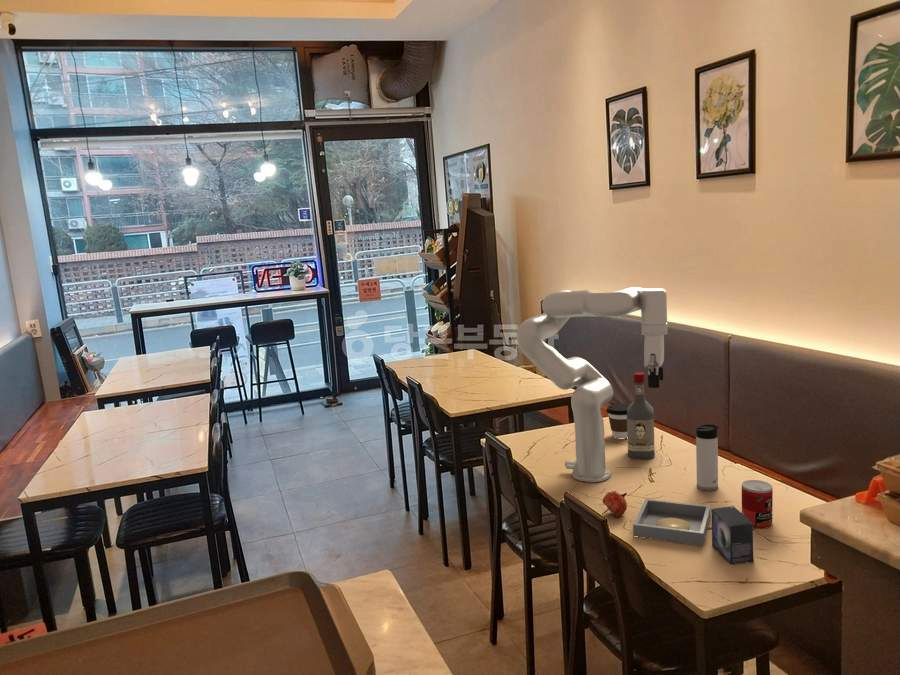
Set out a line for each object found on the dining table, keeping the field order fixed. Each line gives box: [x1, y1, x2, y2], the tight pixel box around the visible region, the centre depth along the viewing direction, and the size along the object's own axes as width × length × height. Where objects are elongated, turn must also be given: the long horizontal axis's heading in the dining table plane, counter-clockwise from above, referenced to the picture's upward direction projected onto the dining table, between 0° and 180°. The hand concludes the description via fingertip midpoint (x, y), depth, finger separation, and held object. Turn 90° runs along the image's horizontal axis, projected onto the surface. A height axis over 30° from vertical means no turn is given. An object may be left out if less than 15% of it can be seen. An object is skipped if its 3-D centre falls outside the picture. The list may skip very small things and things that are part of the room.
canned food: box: [741, 479, 774, 530], centre depth 191 cm, size 8×8×11 cm
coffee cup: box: [605, 403, 630, 439], centre depth 270 cm, size 11×11×12 cm
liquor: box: [627, 372, 656, 460], centre depth 248 cm, size 9×9×30 cm
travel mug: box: [695, 423, 720, 492], centre depth 217 cm, size 6×7×20 cm
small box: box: [711, 505, 755, 565], centre depth 176 cm, size 11×6×10 cm, turn 5°
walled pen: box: [632, 498, 712, 547], centre depth 193 cm, size 18×18×4 cm
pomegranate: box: [602, 491, 628, 518], centre depth 203 cm, size 7×7×10 cm
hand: (656, 383), depth 215 cm, fingers open, 9 cm apart
